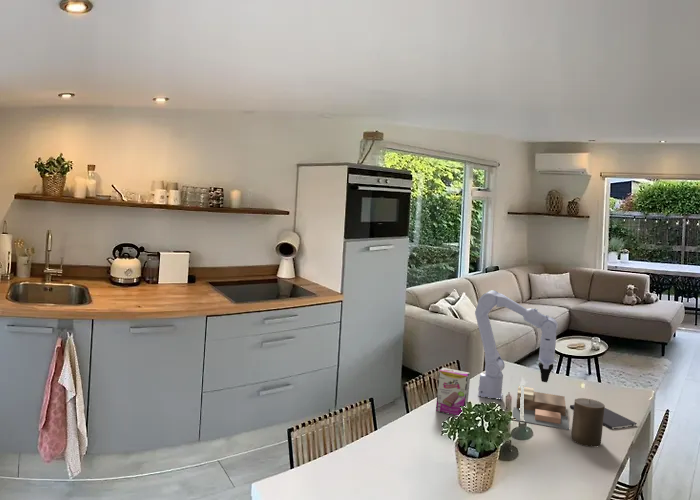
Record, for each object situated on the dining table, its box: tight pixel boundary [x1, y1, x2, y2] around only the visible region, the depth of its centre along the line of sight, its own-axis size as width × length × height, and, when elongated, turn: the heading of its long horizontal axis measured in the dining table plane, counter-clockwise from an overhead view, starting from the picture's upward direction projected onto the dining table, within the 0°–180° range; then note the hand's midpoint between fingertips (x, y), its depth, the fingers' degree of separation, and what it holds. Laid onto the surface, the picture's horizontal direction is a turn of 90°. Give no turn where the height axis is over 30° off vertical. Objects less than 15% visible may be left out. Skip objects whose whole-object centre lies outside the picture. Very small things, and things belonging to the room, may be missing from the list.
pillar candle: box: [570, 397, 606, 448], centre depth 188 cm, size 10×10×15 cm
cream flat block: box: [516, 385, 535, 400], centre depth 219 cm, size 9×6×2 cm, turn 161°
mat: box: [512, 406, 570, 431], centre depth 207 cm, size 20×13×1 cm, turn 71°
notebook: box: [569, 404, 637, 430], centre depth 212 cm, size 13×2×21 cm
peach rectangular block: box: [535, 409, 561, 424], centre depth 206 cm, size 9×6×2 cm, turn 71°
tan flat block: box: [515, 391, 567, 416], centre depth 218 cm, size 18×12×4 cm, turn 71°
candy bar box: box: [435, 367, 471, 416], centre depth 207 cm, size 11×5×16 cm, turn 65°
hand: (544, 381), depth 218 cm, fingers closed
